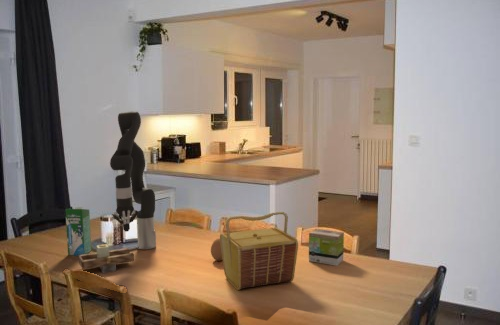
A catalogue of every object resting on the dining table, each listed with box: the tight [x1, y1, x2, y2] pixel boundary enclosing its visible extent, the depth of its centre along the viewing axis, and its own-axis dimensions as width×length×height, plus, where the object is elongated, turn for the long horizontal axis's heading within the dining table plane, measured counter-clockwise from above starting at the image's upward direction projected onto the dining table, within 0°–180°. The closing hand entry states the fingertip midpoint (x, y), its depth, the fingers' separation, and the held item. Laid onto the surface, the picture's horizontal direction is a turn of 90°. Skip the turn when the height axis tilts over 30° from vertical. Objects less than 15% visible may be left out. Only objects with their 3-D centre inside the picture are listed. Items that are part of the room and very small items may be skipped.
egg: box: [210, 238, 223, 262], centre depth 242 cm, size 8×8×11 cm
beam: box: [77, 247, 135, 274], centre depth 234 cm, size 24×14×6 cm, turn 117°
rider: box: [96, 244, 110, 258], centre depth 232 cm, size 5×5×7 cm
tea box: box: [308, 228, 345, 267], centre depth 239 cm, size 15×10×15 cm, turn 62°
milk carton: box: [64, 206, 92, 256], centre depth 257 cm, size 9×9×25 cm
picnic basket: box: [219, 211, 299, 291], centre depth 213 cm, size 29×26×30 cm
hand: (126, 231), depth 236 cm, fingers closed
